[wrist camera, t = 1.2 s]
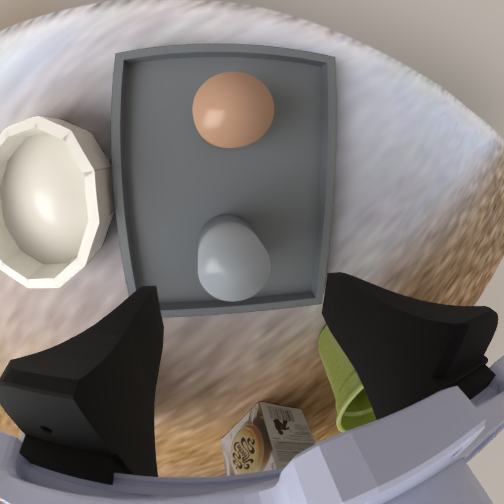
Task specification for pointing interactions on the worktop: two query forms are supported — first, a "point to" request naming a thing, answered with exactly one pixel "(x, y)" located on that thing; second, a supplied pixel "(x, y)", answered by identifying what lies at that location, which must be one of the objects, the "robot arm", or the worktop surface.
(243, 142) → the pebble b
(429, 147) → the worktop surface
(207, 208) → the tray
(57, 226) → the bowl
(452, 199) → the worktop surface
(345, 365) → the plant pot
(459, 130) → the worktop surface
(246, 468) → the coffee box
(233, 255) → the grey rounded cylinder
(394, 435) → the robot arm
